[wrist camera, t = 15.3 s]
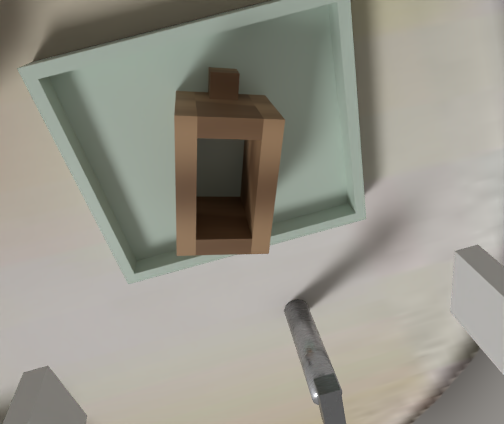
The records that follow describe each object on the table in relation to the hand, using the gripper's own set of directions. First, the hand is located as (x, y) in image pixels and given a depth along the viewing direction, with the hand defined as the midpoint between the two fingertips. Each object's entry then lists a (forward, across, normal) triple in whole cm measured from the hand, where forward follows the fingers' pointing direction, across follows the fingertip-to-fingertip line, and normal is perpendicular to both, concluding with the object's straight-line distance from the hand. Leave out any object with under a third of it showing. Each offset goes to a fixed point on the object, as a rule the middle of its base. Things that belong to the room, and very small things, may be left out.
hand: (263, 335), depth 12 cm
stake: (+18, +3, -19) cm, 26 cm away
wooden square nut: (+18, 0, -1) cm, 18 cm away
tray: (+18, 0, 0) cm, 18 cm away
